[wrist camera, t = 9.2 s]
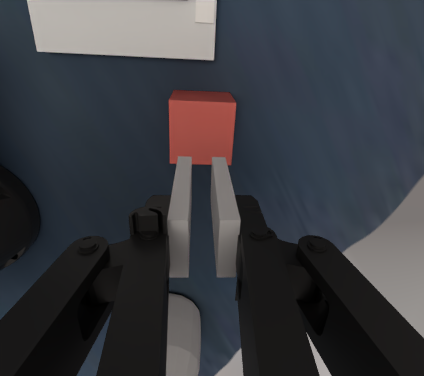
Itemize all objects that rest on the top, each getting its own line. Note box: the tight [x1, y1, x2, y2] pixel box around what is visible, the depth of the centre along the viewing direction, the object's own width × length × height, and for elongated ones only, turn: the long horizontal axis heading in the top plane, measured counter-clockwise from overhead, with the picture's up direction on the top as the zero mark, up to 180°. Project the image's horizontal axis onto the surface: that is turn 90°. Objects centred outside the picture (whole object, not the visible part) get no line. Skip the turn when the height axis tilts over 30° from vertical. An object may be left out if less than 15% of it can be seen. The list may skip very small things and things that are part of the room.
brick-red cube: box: [169, 90, 236, 165], centre depth 29 cm, size 6×6×6 cm
